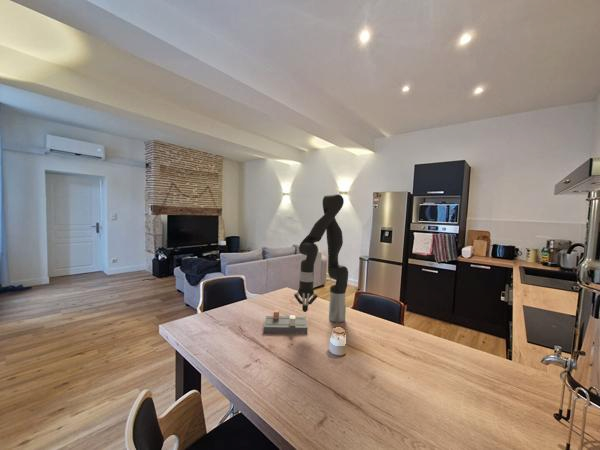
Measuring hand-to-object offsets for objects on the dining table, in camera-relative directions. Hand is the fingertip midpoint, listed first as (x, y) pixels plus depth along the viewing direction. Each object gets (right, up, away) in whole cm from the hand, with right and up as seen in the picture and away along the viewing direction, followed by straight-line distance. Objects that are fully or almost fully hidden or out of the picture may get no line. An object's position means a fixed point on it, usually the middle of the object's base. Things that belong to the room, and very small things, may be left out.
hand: (304, 311), depth 134 cm
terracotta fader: (-16, -6, +8) cm, 19 cm away
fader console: (-11, -10, +4) cm, 15 cm away
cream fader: (-7, -7, 0) cm, 10 cm away
